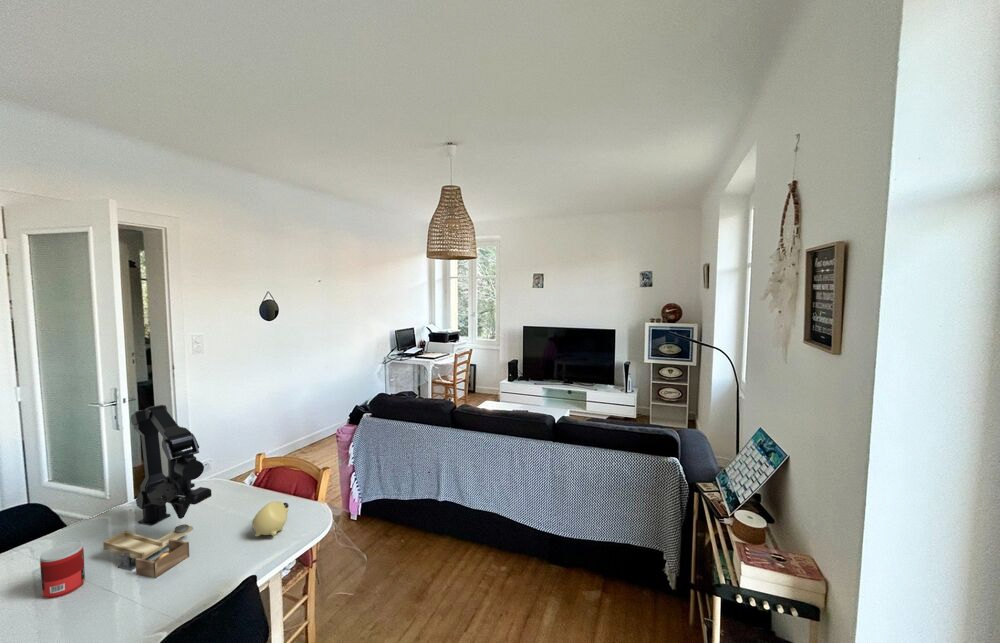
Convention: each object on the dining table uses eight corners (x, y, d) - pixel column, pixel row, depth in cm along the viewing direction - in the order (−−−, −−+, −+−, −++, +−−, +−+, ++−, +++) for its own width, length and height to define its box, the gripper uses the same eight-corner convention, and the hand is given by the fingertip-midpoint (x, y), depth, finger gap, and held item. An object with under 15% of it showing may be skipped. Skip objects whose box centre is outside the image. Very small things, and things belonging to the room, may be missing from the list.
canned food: (91, 582, 113) (89, 544, 112) (52, 603, 106) (50, 562, 105) (75, 575, 116) (73, 538, 115) (35, 595, 108) (33, 555, 107)
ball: (163, 569, 119) (154, 565, 120) (174, 562, 122) (165, 558, 123) (164, 559, 119) (155, 555, 119) (175, 552, 122) (166, 549, 122)
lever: (103, 549, 122) (103, 541, 122) (158, 520, 137) (158, 513, 137) (141, 560, 119) (141, 553, 118) (193, 529, 134) (194, 523, 134)
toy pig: (294, 521, 145) (294, 493, 144) (278, 542, 133) (277, 511, 132) (265, 522, 144) (265, 493, 143) (247, 543, 132) (246, 511, 131)
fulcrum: (117, 567, 119) (117, 553, 119) (148, 550, 128) (147, 536, 127) (131, 570, 118) (130, 556, 118) (160, 552, 126) (160, 539, 126)
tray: (136, 574, 117) (135, 559, 117) (171, 552, 127) (170, 538, 126) (155, 578, 115) (154, 563, 115) (189, 556, 125) (188, 542, 125)
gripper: (129, 479, 125) (131, 527, 126) (178, 486, 121) (180, 536, 122) (166, 464, 136) (167, 509, 137) (212, 470, 132) (213, 517, 133)
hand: (181, 518), depth 132 cm, fingers closed
